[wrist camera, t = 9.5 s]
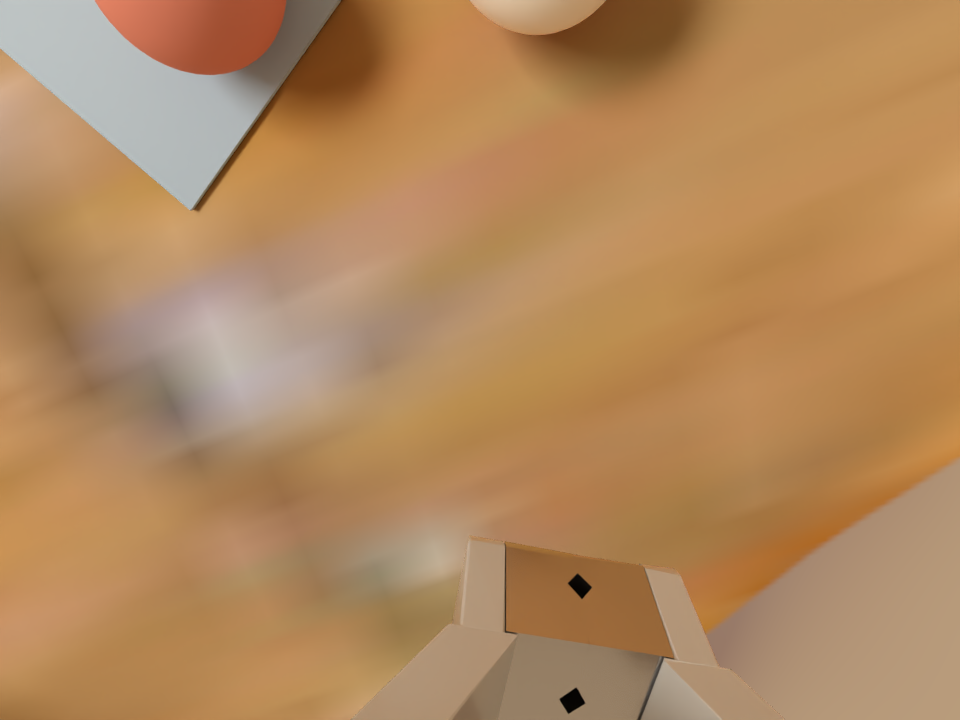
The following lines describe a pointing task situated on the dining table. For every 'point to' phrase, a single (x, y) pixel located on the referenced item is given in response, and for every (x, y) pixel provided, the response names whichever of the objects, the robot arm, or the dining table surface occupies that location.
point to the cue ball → (537, 14)
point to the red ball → (198, 31)
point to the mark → (153, 86)
